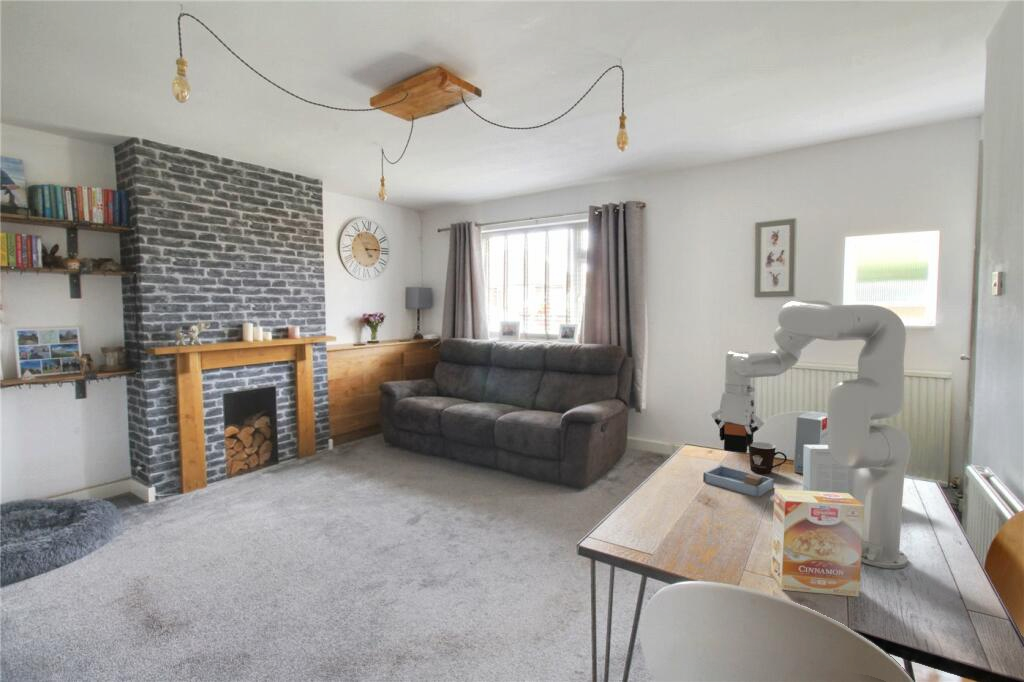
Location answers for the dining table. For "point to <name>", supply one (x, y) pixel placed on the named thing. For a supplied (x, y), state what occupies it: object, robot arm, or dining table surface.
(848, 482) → the skincare box
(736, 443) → the battery
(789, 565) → the coffeecake box
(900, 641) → the dining table surface
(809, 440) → the hard drive box
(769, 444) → the coffee mug
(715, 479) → the bin
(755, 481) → the walnut block
